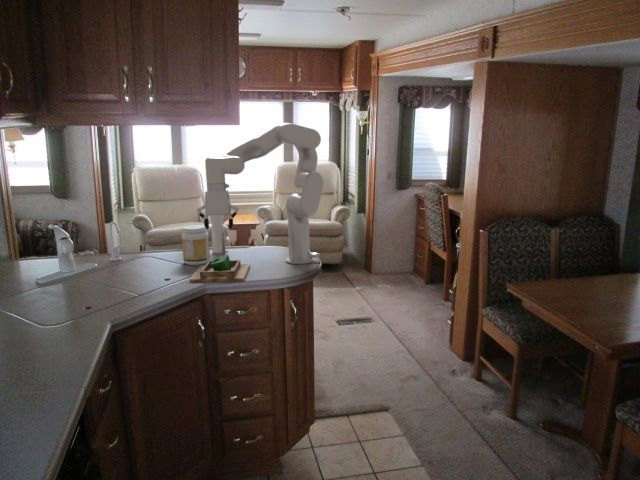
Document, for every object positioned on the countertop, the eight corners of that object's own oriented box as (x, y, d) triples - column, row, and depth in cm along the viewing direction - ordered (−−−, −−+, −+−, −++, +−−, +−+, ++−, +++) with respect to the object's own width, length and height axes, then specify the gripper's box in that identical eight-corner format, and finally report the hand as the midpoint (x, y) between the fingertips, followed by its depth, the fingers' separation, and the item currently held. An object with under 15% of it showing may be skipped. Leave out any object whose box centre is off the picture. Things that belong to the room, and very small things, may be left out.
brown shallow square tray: (250, 266, 221) (249, 258, 221) (244, 281, 200) (243, 272, 199) (201, 267, 221) (200, 259, 220) (189, 282, 199) (188, 273, 199)
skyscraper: (208, 254, 246) (205, 199, 240) (213, 251, 254) (209, 197, 248) (225, 254, 245) (222, 198, 239) (229, 251, 253) (226, 196, 247)
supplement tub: (190, 258, 238) (188, 224, 234) (214, 259, 235) (212, 224, 232) (178, 265, 226) (176, 229, 222) (203, 266, 224) (201, 229, 220)
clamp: (220, 278, 215) (216, 258, 216) (233, 275, 214) (229, 255, 216) (212, 275, 203) (207, 254, 205) (226, 272, 203) (221, 251, 204)
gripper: (238, 186, 206) (241, 226, 210) (197, 187, 206) (200, 227, 210) (236, 188, 199) (238, 229, 203) (193, 189, 199) (196, 230, 202)
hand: (219, 228), depth 206 cm, fingers open, 9 cm apart
